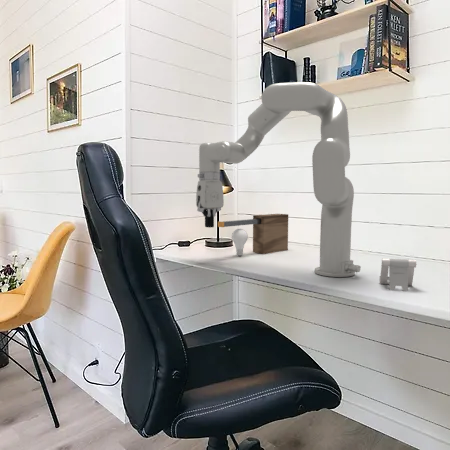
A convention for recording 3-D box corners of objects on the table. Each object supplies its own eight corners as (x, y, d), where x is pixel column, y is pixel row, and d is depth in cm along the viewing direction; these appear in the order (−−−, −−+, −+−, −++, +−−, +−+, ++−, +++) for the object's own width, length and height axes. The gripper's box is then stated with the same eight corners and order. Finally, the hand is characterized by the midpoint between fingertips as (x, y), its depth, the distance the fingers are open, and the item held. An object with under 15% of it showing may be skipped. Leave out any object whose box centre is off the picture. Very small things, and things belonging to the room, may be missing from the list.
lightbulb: (228, 255, 172) (228, 228, 170) (240, 254, 175) (240, 227, 174) (238, 258, 166) (238, 230, 165) (250, 256, 170) (251, 228, 169)
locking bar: (265, 223, 178) (265, 218, 178) (222, 227, 162) (222, 222, 161) (260, 222, 180) (260, 218, 180) (217, 226, 163) (217, 221, 163)
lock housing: (287, 249, 187) (288, 214, 186) (263, 254, 176) (263, 216, 175) (277, 248, 192) (277, 213, 190) (252, 252, 181) (253, 215, 179)
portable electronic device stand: (411, 285, 123) (412, 256, 122) (415, 291, 116) (417, 261, 115) (379, 283, 125) (380, 255, 125) (382, 289, 118) (383, 259, 117)
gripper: (200, 177, 149) (200, 229, 151) (231, 177, 159) (230, 226, 161) (187, 177, 155) (187, 227, 156) (217, 177, 165) (217, 225, 167)
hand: (209, 227), depth 159 cm, fingers closed
